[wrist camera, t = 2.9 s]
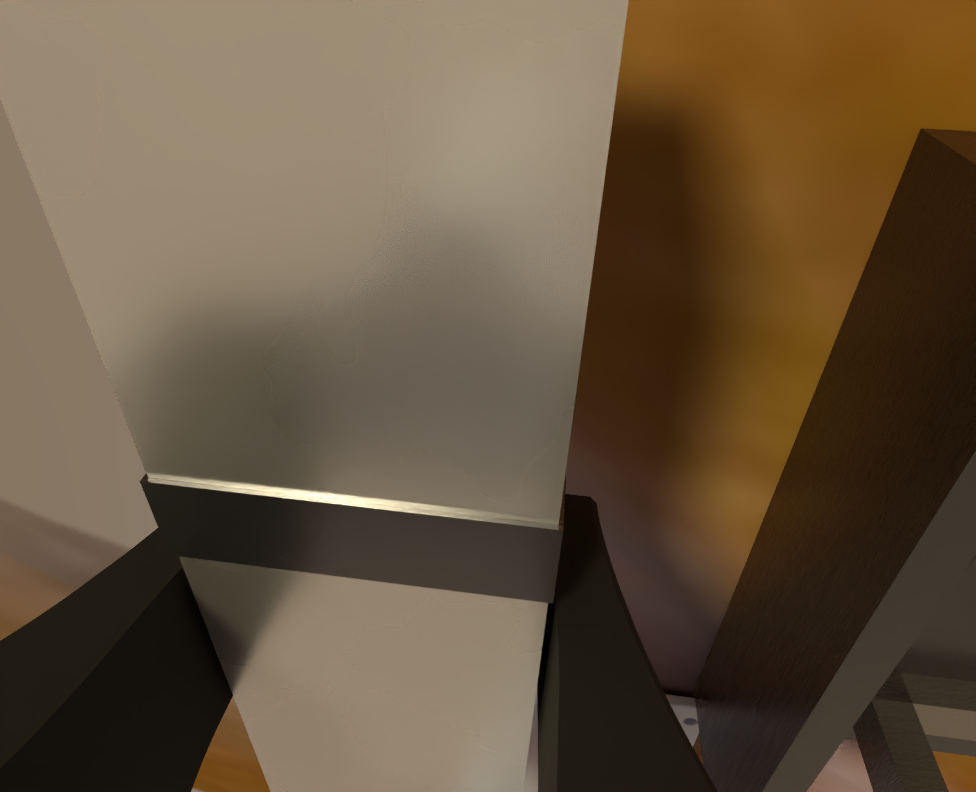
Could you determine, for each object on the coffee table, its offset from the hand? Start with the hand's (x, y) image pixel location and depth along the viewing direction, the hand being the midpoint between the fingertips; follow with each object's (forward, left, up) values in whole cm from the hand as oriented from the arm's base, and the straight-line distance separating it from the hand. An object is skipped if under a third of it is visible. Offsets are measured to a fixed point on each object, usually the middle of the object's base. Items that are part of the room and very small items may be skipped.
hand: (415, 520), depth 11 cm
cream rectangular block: (0, 0, -2) cm, 2 cm away
